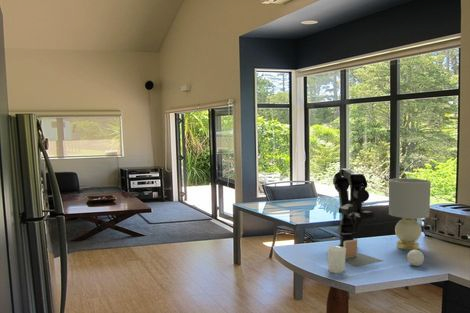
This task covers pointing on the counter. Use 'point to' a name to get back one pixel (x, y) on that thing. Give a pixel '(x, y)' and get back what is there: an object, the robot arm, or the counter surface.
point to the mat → (361, 260)
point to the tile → (350, 248)
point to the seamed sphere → (415, 257)
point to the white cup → (336, 259)
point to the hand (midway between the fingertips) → (355, 229)
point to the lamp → (409, 209)
